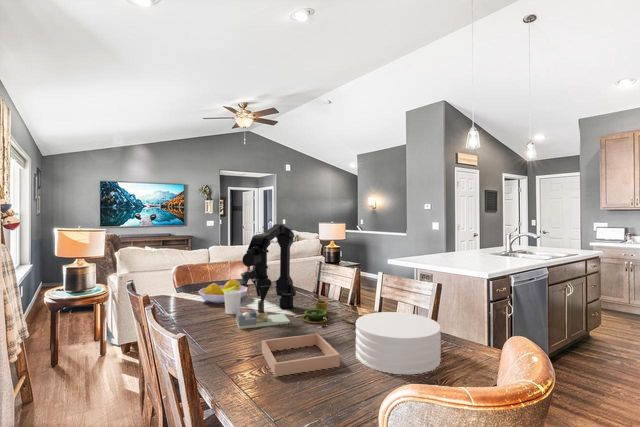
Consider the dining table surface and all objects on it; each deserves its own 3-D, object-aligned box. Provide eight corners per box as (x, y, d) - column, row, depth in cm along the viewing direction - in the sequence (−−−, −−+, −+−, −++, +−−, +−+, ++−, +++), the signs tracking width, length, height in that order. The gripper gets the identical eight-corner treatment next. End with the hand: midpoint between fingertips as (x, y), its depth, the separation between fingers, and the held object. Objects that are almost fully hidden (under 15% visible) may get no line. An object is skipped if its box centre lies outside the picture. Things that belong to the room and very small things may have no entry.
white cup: (243, 310, 179) (242, 290, 179) (237, 315, 171) (237, 294, 171) (227, 310, 180) (227, 290, 180) (221, 314, 172) (221, 293, 172)
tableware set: (290, 317, 168) (290, 304, 168) (335, 308, 185) (335, 295, 185) (349, 343, 135) (349, 327, 135) (398, 328, 152) (398, 314, 152)
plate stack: (426, 342, 136) (426, 311, 136) (453, 376, 108) (453, 338, 108) (352, 342, 136) (352, 312, 136) (360, 376, 108) (360, 338, 108)
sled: (265, 316, 164) (265, 298, 163) (267, 320, 158) (267, 302, 158) (250, 318, 161) (250, 300, 161) (253, 322, 156) (253, 303, 156)
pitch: (283, 315, 169) (283, 304, 169) (290, 323, 158) (289, 310, 158) (235, 320, 162) (235, 308, 162) (239, 329, 151) (239, 315, 151)
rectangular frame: (318, 344, 133) (318, 333, 133) (339, 367, 114) (339, 354, 114) (261, 351, 126) (261, 340, 126) (274, 377, 107) (274, 364, 107)
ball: (241, 311, 159) (240, 320, 159) (242, 314, 155) (242, 323, 155) (250, 310, 160) (249, 319, 160) (251, 313, 156) (251, 322, 156)
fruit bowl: (195, 297, 206) (195, 277, 206) (242, 293, 218) (242, 274, 217) (201, 309, 181) (201, 287, 181) (254, 303, 192) (254, 282, 192)
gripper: (239, 261, 166) (239, 295, 166) (245, 267, 148) (245, 305, 148) (263, 260, 169) (263, 293, 169) (271, 266, 152) (271, 303, 152)
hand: (260, 298), depth 160 cm, fingers open, 9 cm apart
